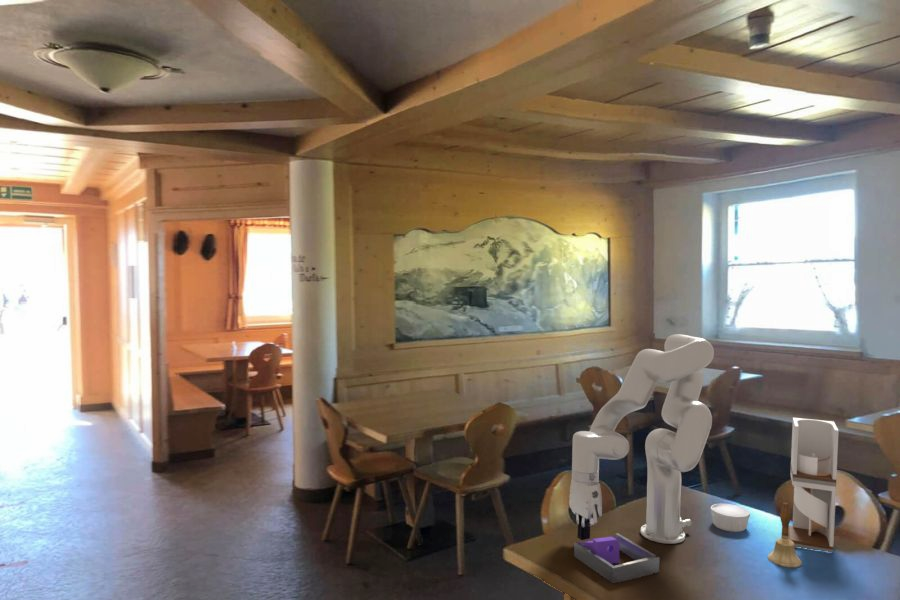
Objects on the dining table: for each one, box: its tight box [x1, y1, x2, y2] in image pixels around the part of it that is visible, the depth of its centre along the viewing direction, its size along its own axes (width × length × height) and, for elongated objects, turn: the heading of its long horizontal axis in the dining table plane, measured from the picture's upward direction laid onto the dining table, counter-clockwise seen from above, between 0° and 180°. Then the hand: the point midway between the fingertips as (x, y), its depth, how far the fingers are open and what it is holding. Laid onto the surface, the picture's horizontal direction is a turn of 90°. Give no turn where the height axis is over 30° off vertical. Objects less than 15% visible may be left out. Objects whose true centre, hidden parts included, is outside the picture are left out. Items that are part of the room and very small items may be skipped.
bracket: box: [578, 536, 620, 565], centre depth 178 cm, size 12×7×7 cm, turn 17°
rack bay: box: [573, 532, 660, 584], centre depth 172 cm, size 15×16×4 cm
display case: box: [788, 417, 840, 553], centre depth 186 cm, size 11×11×35 cm
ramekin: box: [710, 503, 751, 533], centre depth 199 cm, size 11×11×5 cm
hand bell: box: [767, 501, 803, 568], centre depth 175 cm, size 8×8×16 cm
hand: (583, 538), depth 185 cm, fingers closed
